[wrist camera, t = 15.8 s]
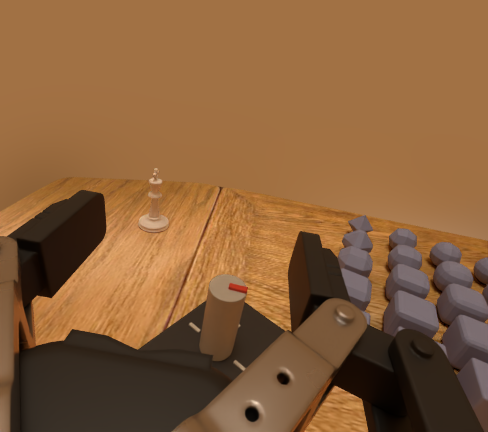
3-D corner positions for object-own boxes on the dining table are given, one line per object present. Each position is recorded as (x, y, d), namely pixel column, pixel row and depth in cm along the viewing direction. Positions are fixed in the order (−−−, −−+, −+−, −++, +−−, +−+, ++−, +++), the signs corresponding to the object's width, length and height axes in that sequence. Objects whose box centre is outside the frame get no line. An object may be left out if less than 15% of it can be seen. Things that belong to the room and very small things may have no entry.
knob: (194, 356, 29) (205, 293, 25) (204, 328, 32) (214, 268, 28) (229, 365, 29) (244, 303, 25) (235, 336, 32) (250, 276, 28)
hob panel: (199, 456, 24) (202, 443, 23) (124, 372, 29) (124, 357, 27) (287, 347, 34) (292, 334, 33) (221, 298, 39) (224, 286, 38)
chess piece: (172, 220, 53) (176, 166, 48) (163, 235, 49) (166, 178, 44) (144, 214, 53) (146, 160, 48) (133, 228, 49) (133, 171, 44)
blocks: (308, 353, 34) (321, 323, 32) (345, 226, 63) (353, 206, 60) (721, 555, 24) (784, 533, 22) (541, 296, 53) (561, 275, 51)
